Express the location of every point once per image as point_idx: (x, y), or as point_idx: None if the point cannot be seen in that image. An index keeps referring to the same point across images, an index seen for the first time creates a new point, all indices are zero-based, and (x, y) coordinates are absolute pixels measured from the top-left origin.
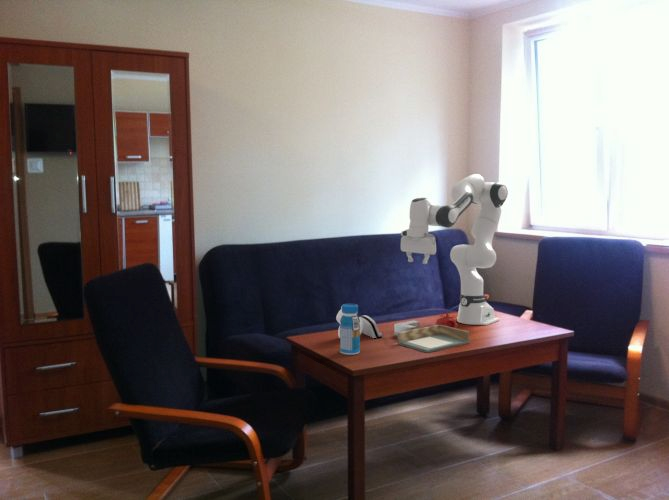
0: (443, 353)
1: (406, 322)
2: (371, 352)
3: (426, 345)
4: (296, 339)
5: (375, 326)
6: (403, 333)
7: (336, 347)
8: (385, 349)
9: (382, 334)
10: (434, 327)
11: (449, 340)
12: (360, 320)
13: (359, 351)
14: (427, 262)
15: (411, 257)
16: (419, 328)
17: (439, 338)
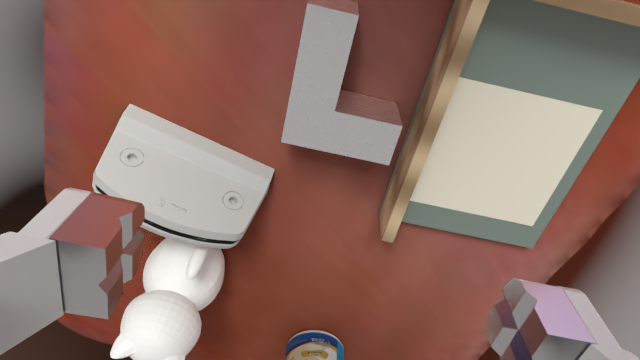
0: (587, 220)
1: (309, 78)
2: (364, 320)
3: (505, 204)
4: (90, 330)
5: (248, 225)
6: (398, 223)
7: (247, 332)
8: (381, 280)
9: (270, 180)
10: (474, 33)
11: (573, 77)
12: (197, 274)
13: (342, 345)
14: (588, 302)
15: (44, 256)
16: (425, 129)
17: (515, 73)
